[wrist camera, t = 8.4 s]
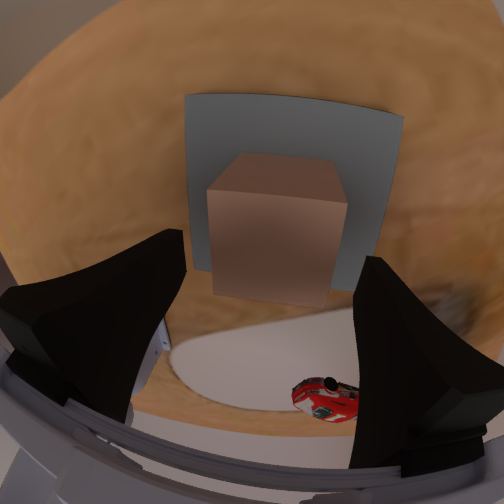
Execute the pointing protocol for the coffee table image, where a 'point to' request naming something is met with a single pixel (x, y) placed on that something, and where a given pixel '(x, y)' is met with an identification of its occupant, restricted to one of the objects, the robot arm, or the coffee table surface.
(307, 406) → the race car
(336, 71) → the coffee table surface
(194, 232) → the charcoal flat pad
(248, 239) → the terracotta block
